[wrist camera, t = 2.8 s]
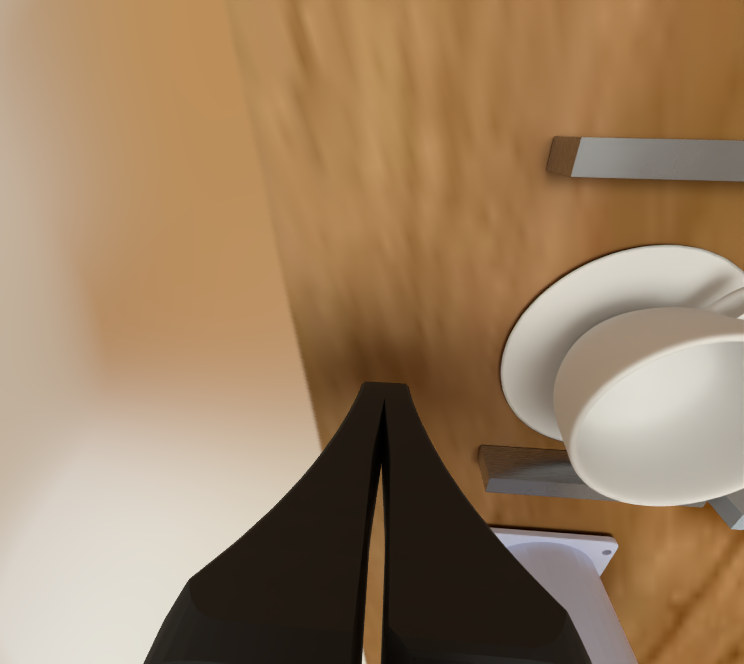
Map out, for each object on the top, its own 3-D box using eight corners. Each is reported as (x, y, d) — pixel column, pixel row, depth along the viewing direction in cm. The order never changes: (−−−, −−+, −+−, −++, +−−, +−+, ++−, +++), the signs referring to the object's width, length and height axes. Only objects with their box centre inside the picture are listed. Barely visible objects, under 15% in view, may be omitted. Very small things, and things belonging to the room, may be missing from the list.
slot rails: (673, 471, 18) (702, 507, 17) (477, 458, 19) (485, 492, 17) (885, 143, 11) (976, 145, 9) (554, 136, 12) (581, 137, 10)
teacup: (608, 464, 19) (665, 556, 15) (453, 381, 17) (470, 461, 13) (808, 322, 14) (972, 398, 10) (628, 186, 12) (740, 214, 8)
